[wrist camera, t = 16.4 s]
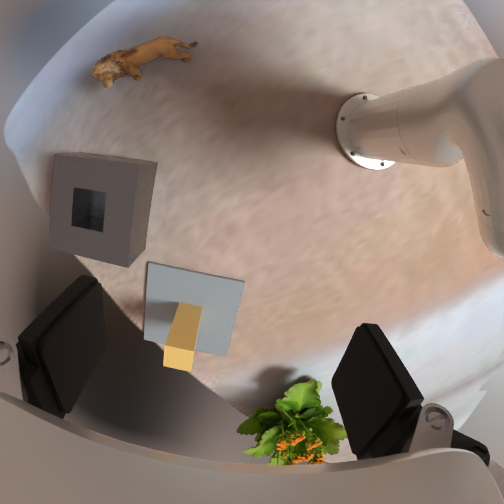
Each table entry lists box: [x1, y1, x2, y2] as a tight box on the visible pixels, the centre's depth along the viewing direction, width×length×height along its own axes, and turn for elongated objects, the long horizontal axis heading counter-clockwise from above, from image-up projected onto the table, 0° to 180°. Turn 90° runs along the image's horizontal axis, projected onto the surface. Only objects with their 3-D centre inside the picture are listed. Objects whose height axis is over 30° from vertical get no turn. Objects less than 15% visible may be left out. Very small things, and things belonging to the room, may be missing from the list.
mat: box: [144, 262, 245, 356], centre depth 47 cm, size 16×16×1 cm
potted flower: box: [237, 379, 348, 465], centre depth 50 cm, size 25×24×18 cm
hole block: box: [50, 153, 158, 268], centre depth 36 cm, size 14×14×8 cm
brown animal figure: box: [92, 37, 197, 88], centre depth 29 cm, size 15×5×9 cm, turn 114°
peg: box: [164, 302, 202, 372], centre depth 41 cm, size 4×4×12 cm
